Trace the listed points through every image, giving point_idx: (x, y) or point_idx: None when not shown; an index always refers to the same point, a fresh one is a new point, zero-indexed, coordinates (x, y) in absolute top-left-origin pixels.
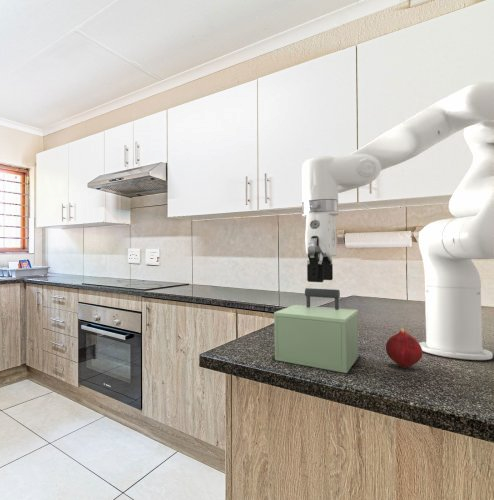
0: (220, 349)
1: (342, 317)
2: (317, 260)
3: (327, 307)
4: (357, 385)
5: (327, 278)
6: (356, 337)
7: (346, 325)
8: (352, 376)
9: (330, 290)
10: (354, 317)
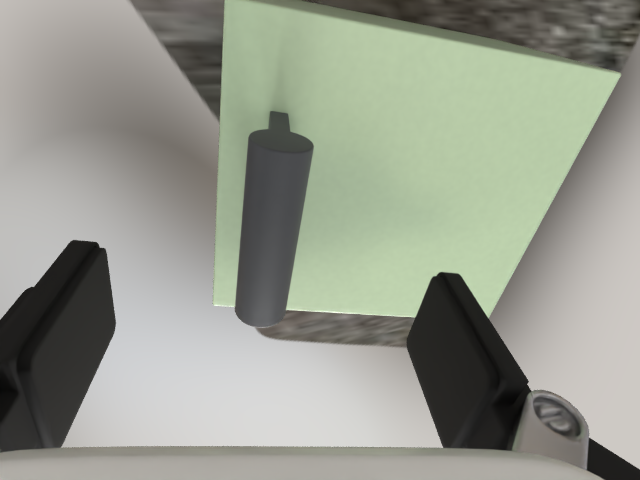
0: (377, 341)
1: (570, 87)
2: (591, 447)
3: (222, 169)
4: (601, 11)
5: (104, 277)
6: (303, 4)
7: (585, 64)
8: (520, 23)
9: (296, 200)
10: (365, 21)
